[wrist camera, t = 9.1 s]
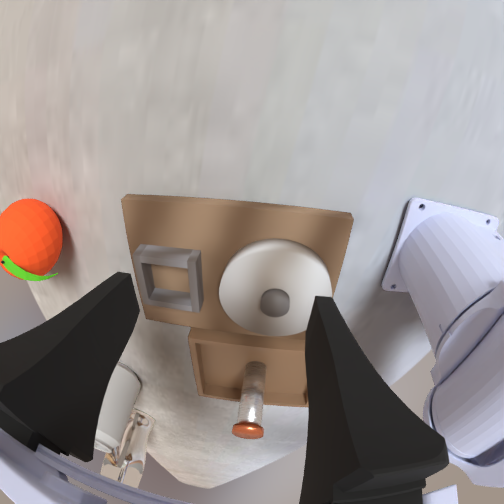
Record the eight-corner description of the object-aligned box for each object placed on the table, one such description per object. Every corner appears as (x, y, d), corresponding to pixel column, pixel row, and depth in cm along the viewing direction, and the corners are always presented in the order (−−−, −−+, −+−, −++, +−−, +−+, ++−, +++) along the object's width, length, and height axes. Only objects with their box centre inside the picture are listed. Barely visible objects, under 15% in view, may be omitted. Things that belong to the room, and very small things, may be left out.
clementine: (92, 214, 21) (40, 263, 15) (80, 268, 24) (40, 318, 18) (30, 173, 19) (-25, 209, 13) (25, 229, 23) (-18, 269, 17)
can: (136, 363, 32) (104, 444, 22) (147, 391, 36) (123, 461, 26) (88, 348, 32) (52, 420, 22) (103, 377, 37) (76, 441, 27)
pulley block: (350, 213, 19) (361, 238, 16) (318, 332, 25) (320, 362, 22) (127, 194, 20) (104, 214, 17) (149, 311, 26) (137, 337, 23)
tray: (333, 336, 25) (335, 352, 24) (309, 393, 32) (309, 407, 30) (193, 321, 26) (187, 337, 24) (202, 382, 32) (198, 395, 31)
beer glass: (158, 416, 42) (137, 490, 29) (157, 427, 45) (138, 492, 33) (121, 402, 41) (95, 474, 28) (123, 414, 45) (101, 478, 32)
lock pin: (264, 357, 27) (256, 428, 21) (273, 372, 29) (267, 438, 22) (238, 361, 28) (226, 429, 22) (248, 375, 29) (239, 439, 23)
